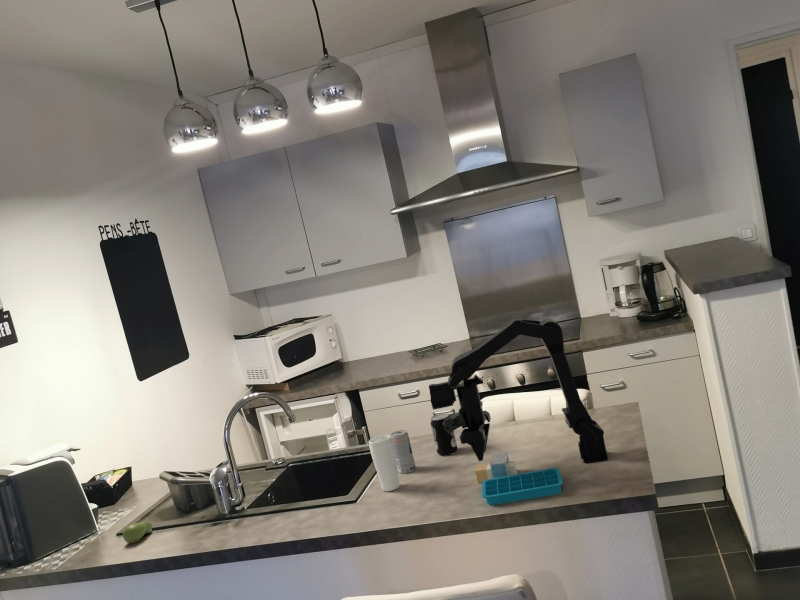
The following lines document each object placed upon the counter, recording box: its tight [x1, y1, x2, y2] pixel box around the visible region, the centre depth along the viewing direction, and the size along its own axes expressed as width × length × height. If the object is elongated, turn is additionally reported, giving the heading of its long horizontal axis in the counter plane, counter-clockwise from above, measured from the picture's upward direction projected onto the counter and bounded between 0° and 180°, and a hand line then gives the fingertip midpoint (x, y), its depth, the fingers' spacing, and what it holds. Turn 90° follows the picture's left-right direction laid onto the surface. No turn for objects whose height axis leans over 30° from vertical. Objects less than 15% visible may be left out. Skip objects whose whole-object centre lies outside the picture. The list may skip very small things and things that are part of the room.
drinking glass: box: [368, 434, 401, 492], centre depth 203 cm, size 7×7×15 cm
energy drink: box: [390, 429, 416, 475], centre depth 216 cm, size 5×5×12 cm
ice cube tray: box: [481, 467, 564, 506], centre depth 180 cm, size 12×20×3 cm, turn 83°
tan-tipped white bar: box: [474, 460, 518, 484], centre depth 193 cm, size 10×4×4 cm, turn 76°
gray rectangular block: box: [489, 450, 511, 478], centre depth 193 cm, size 4×9×6 cm, turn 167°
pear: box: [122, 521, 153, 544], centre depth 211 cm, size 6×5×10 cm
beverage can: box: [430, 413, 458, 457], centre depth 224 cm, size 7×7×12 cm
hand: (482, 456), depth 194 cm, fingers open, 6 cm apart
